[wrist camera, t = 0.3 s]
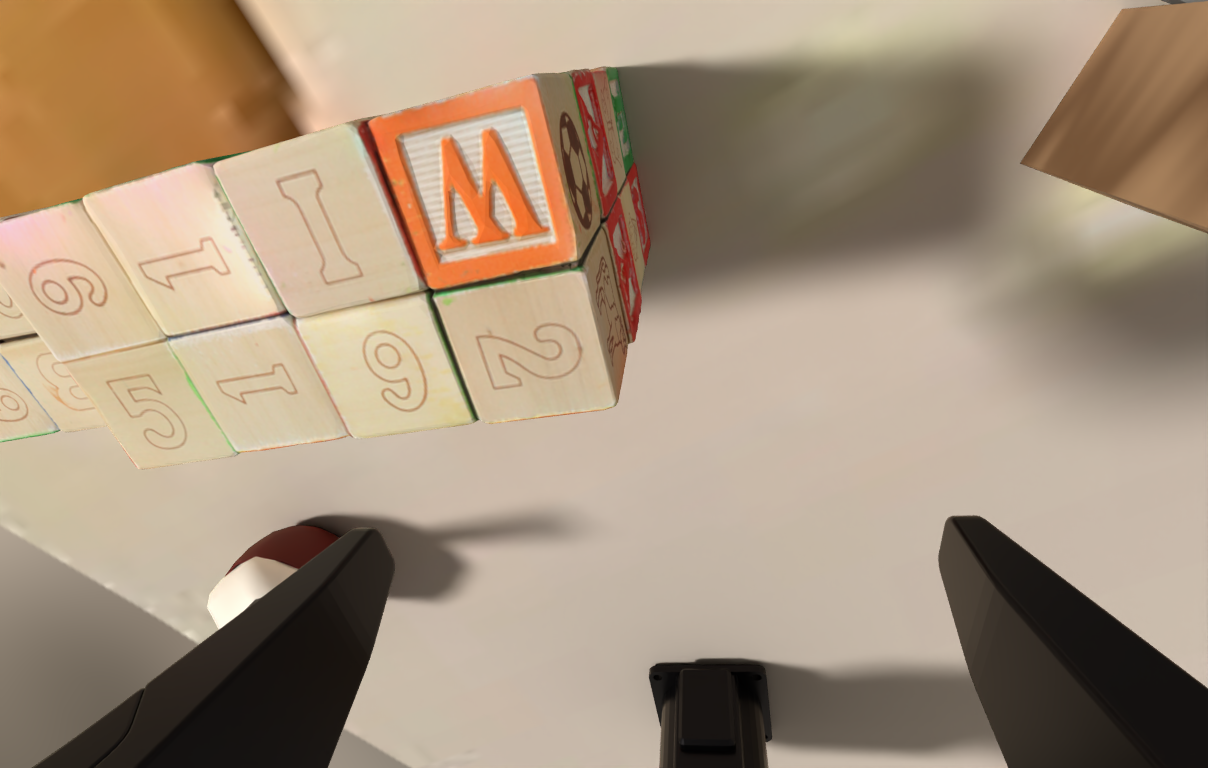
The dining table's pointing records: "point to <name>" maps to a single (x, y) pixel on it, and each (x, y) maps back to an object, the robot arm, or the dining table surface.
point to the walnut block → (1139, 116)
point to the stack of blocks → (338, 281)
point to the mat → (1182, 1)
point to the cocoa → (265, 569)
